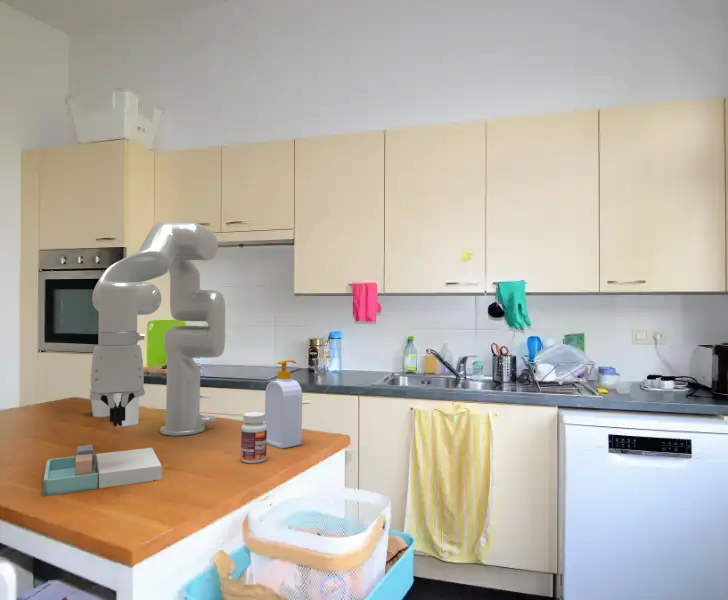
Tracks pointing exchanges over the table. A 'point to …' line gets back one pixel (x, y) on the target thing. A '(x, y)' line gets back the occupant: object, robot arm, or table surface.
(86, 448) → the grey block
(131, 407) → the cylindrical container
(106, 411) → the dixie cup
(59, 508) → the table surface
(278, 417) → the soap bottle
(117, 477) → the white flat block
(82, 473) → the salmon pink box
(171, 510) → the table surface
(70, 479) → the tray
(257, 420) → the pill bottle
